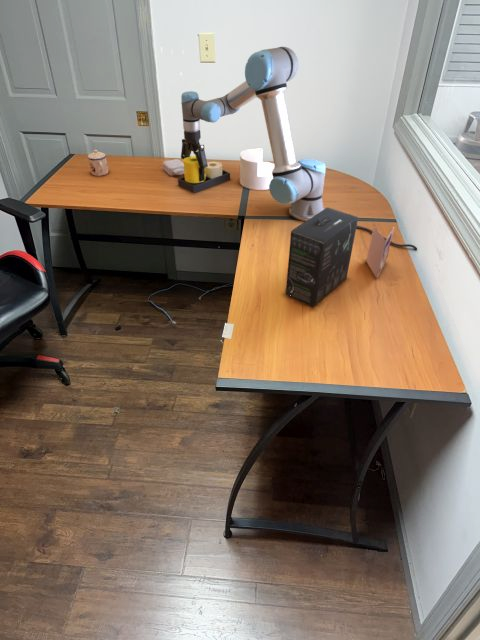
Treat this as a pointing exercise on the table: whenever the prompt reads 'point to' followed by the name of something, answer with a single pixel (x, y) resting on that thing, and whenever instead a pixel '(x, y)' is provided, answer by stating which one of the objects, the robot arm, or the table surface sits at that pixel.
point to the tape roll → (191, 169)
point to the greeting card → (378, 251)
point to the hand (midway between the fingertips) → (195, 177)
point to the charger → (173, 167)
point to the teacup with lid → (98, 163)
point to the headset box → (320, 255)
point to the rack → (205, 184)
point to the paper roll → (213, 169)
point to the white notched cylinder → (255, 170)
